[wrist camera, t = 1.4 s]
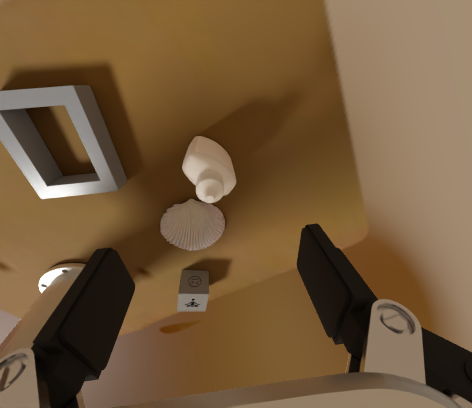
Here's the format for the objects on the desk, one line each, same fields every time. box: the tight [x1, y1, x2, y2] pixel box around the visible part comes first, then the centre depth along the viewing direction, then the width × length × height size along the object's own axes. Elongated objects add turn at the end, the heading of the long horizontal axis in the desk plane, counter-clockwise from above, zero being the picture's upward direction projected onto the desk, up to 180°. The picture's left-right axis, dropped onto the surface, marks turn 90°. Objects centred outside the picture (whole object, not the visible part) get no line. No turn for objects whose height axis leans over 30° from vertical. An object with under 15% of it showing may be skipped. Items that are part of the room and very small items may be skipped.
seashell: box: [160, 199, 225, 251], centre depth 30 cm, size 10×6×10 cm
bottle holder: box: [0, 85, 127, 199], centre depth 22 cm, size 11×9×3 cm
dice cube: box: [177, 270, 209, 311], centre depth 36 cm, size 5×5×5 cm
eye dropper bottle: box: [182, 136, 236, 203], centre depth 21 cm, size 4×6×12 cm
